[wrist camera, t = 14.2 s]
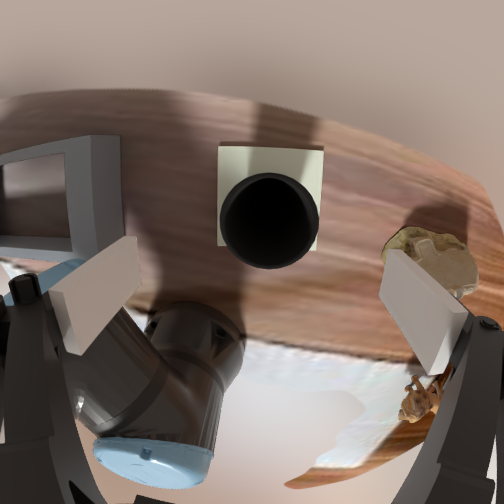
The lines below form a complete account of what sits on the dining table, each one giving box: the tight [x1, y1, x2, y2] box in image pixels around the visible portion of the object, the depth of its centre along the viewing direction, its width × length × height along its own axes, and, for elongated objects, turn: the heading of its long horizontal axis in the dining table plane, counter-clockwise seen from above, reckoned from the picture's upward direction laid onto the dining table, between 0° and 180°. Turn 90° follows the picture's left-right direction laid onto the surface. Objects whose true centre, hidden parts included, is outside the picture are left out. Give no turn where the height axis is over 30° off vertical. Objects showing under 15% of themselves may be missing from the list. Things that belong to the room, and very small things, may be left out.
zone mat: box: [217, 146, 324, 251], centre depth 34 cm, size 12×12×1 cm
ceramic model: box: [382, 227, 479, 300], centre depth 31 cm, size 14×11×10 cm
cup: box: [219, 172, 319, 269], centre depth 28 cm, size 8×8×12 cm
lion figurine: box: [398, 375, 444, 423], centre depth 39 cm, size 15×5×9 cm, turn 74°
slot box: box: [0, 135, 125, 263], centre depth 32 cm, size 15×32×7 cm, turn 88°
